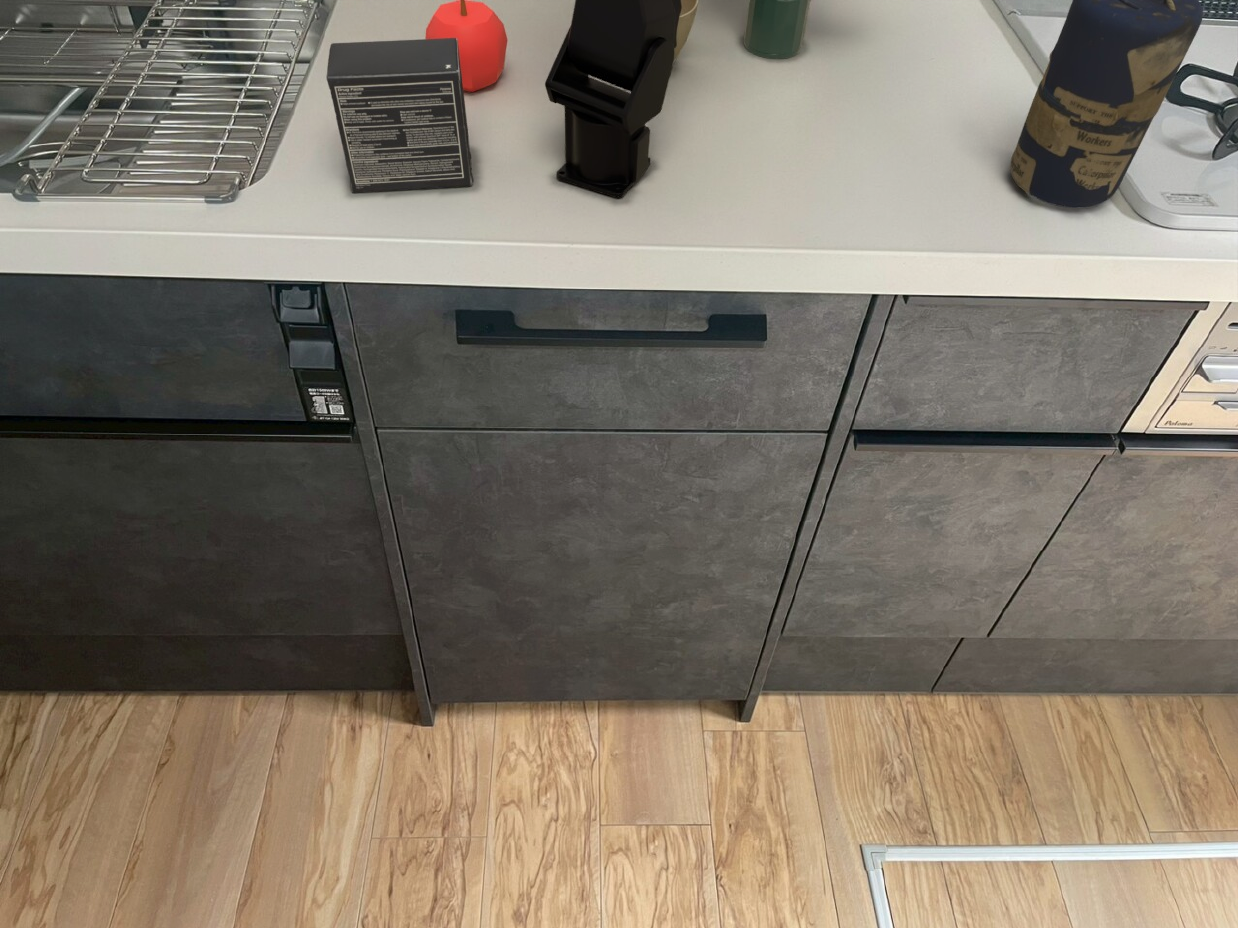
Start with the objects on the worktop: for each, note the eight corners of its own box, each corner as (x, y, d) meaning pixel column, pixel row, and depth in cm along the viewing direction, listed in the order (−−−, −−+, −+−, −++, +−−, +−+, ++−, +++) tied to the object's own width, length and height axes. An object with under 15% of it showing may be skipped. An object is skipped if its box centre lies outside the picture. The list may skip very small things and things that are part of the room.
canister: (1034, 221, 81) (1127, 11, 68) (986, 161, 87) (1062, -44, 73) (1133, 211, 83) (1244, 4, 69) (1079, 152, 89) (1171, -50, 75)
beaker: (735, 50, 100) (742, -8, 95) (755, 26, 103) (763, -31, 99) (790, 64, 98) (800, 6, 93) (809, 40, 102) (820, -18, 97)
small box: (471, 147, 86) (459, 33, 78) (474, 188, 82) (462, 72, 74) (352, 153, 85) (329, 38, 77) (350, 195, 81) (324, 77, 73)
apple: (475, 109, 90) (468, 26, 84) (412, 84, 93) (401, 1, 87) (526, 76, 95) (522, -5, 88) (464, 53, 97) (457, -28, 91)
